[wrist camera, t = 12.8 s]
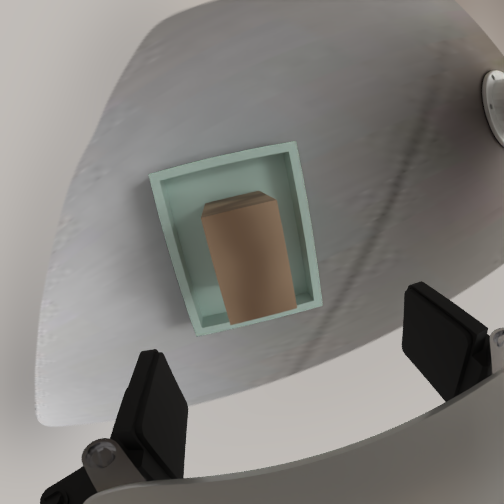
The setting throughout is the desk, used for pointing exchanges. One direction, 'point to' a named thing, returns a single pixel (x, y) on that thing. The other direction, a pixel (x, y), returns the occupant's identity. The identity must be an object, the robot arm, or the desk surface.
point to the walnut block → (249, 256)
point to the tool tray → (224, 186)
